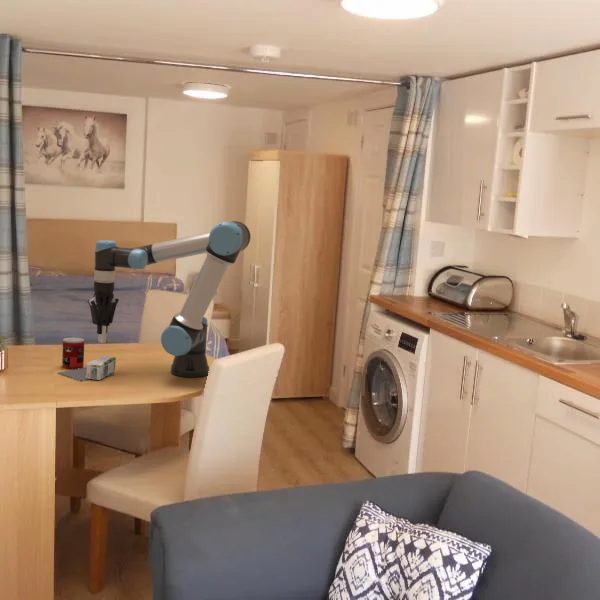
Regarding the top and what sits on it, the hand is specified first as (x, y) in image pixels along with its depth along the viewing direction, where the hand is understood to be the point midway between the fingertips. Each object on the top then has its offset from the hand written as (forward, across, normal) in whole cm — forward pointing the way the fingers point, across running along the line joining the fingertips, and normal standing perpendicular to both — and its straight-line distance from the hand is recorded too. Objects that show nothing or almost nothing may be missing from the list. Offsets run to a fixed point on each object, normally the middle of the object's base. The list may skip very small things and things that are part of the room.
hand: (101, 342), depth 281 cm
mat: (+12, +7, 0) cm, 14 cm away
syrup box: (+8, -2, +2) cm, 9 cm away
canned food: (+12, +4, -12) cm, 17 cm away
